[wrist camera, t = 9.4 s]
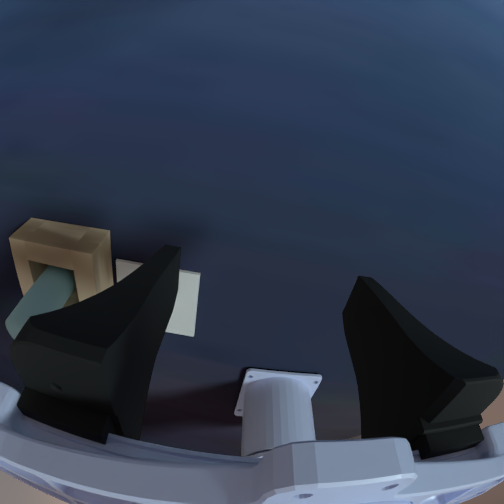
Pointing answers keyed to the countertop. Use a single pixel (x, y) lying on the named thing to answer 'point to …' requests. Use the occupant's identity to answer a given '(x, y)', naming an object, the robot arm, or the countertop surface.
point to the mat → (185, 299)
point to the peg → (42, 297)
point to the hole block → (63, 255)
